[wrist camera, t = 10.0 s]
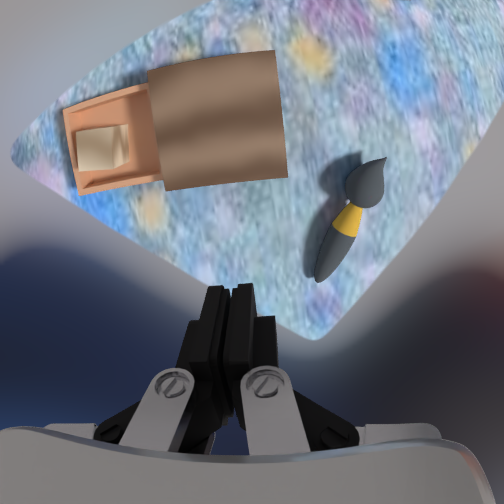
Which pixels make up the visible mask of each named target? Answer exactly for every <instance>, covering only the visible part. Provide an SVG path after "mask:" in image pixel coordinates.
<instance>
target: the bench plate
mask: <svg viewBox="0 0 504 504" xmlns="http://www.w3.org/2000/svg"><path fill="white" fill-rule="evenodd" d="M147 76H148V84H149V92H150V99H151V107H152V114H153V121H154V127H155V134H156V140H157V146H158V152H159V158H160V164H161V169H162V175H163V180H164V186H165V191H172V190H179V189H186V188H194V187H201V186H209V185H217V184H226V183H235V182H244V181H254V180H264V179H276V178H287V177H288V171H287V159H286V148H285V137H284V127H283V117H282V107H281V98H280V89H279V80H278V72H277V64H276V56H275V50H269V51H257V52H247V53H239V54H231V55H223V56H217V57H210V58H204V59H199V60H193V61H188V62H183V63H178V64H174V65H169V66H165V67H161V68H157V69H153V70H149V71H147Z"/></svg>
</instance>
